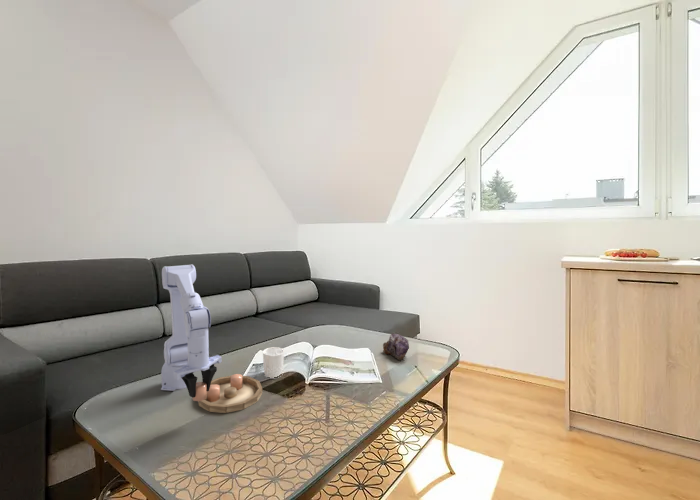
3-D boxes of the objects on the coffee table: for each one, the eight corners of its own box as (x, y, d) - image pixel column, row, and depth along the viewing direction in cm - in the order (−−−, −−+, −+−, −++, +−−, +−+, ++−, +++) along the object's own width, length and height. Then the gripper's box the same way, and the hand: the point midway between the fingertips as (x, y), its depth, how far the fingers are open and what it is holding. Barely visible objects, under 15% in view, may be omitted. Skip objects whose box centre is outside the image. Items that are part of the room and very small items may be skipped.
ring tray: (186, 412, 118) (185, 403, 118) (214, 380, 139) (214, 373, 138) (249, 417, 117) (249, 408, 117) (268, 384, 137) (268, 377, 137)
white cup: (279, 382, 139) (279, 356, 138) (259, 379, 141) (259, 354, 139) (286, 372, 147) (287, 348, 145) (267, 370, 148) (268, 346, 147)
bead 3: (228, 389, 131) (228, 378, 131) (233, 384, 135) (233, 373, 135) (240, 390, 131) (239, 379, 130) (244, 384, 135) (244, 374, 134)
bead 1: (189, 400, 111) (189, 387, 110) (196, 393, 115) (195, 381, 114) (202, 401, 110) (202, 389, 110) (208, 394, 114) (208, 382, 114)
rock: (394, 364, 160) (413, 359, 165) (397, 346, 158) (416, 342, 162) (379, 350, 170) (397, 346, 175) (381, 333, 167) (400, 329, 172)
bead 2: (212, 403, 123) (211, 391, 122) (204, 399, 125) (204, 387, 124) (222, 397, 126) (222, 386, 125) (214, 394, 128) (214, 383, 127)
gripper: (182, 361, 102) (184, 408, 104) (227, 345, 114) (228, 387, 116) (168, 354, 106) (170, 399, 108) (213, 339, 118) (214, 380, 120)
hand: (199, 393), depth 112 cm, fingers closed on bead 1, 4 cm apart
